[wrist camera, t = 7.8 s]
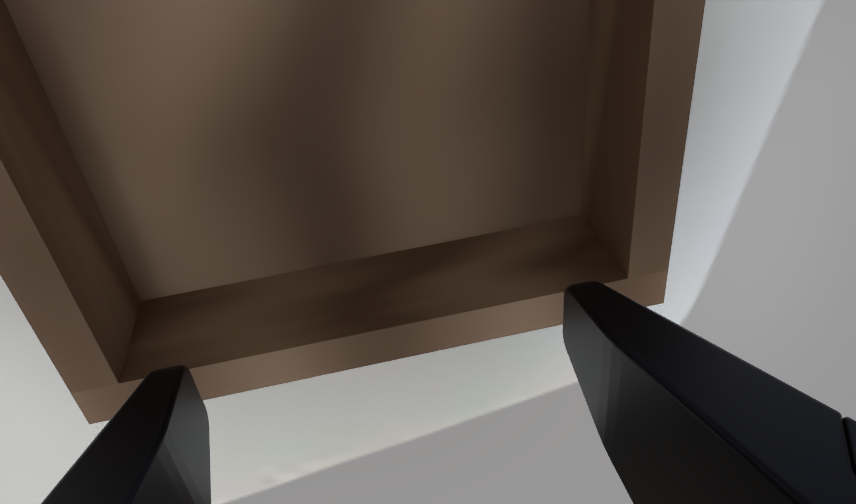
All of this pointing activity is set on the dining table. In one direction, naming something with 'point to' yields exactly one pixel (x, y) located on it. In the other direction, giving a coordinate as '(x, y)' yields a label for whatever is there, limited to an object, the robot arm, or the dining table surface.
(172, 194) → the box
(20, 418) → the dining table surface
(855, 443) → the robot arm
